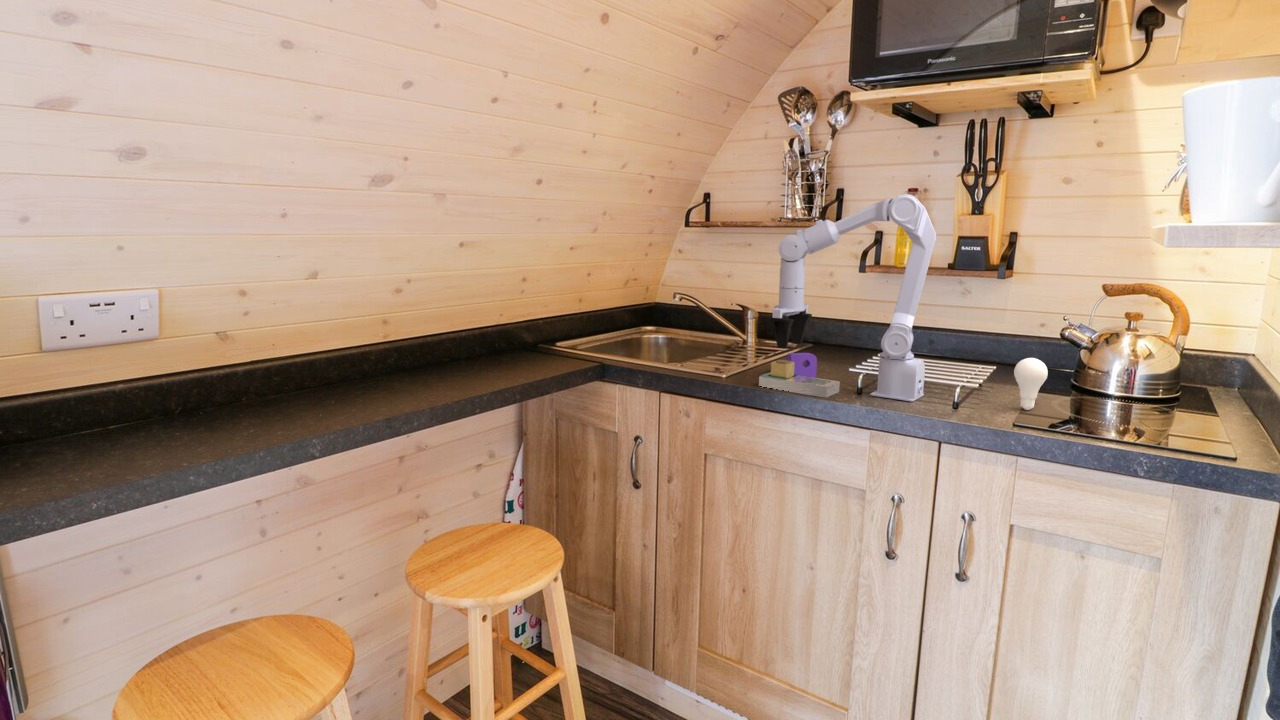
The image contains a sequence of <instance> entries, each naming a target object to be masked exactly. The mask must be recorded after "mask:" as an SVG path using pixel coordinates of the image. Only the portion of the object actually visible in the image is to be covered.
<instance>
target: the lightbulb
mask: <svg viewBox="0 0 1280 720" xmlns="http://www.w3.org/2000/svg"><path fill="white" fill-rule="evenodd" d="M1048 374H1049V371H1048V367H1047V366H1046V364H1045V363H1044V362H1043V361H1042V360H1040V359H1038V358H1035V357H1026V358H1024V359H1021V360H1020V361H1018V362H1017V363H1016V365H1015V367H1014V369H1013V375H1014V378H1015V381H1016V382H1017V385H1018V389H1019V397H1020V403H1019V404H1020V407H1021V408H1023V410H1025V411H1030V410H1031V409H1033V408H1035V402H1036V399H1037V398H1038V393H1039V391H1040V388H1041V386H1043V384H1044V383H1045V381H1047V379H1048Z"/></svg>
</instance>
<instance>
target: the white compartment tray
mask: <svg viewBox="0 0 1280 720" xmlns="http://www.w3.org/2000/svg"><path fill="white" fill-rule="evenodd" d="M840 382H841V381H838V380H832V379H824V378H819V377H816V378H813V377H806V376H799V375H798V374H794V377H792V378H790V379H784V378H777V377H771V371H770V372H766V373H763V374H761V375H760V376H759V377H758V387H759V386H762V387H761V388H763V387H767V388H766V389H769V388H773V389H772V390H776V389H778V390H777V391H782V390H784V392H788V391H789V393H794V394H795V393H796V394H801V395H808V396H814V397H819V398H826V399H827V398H829V397H830V396H833V395H836V394H838V393H839V392H840V384H841V383H840Z"/></svg>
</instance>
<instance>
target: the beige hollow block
mask: <svg viewBox="0 0 1280 720" xmlns="http://www.w3.org/2000/svg"><path fill="white" fill-rule="evenodd" d="M794 363H795V362H790V361H787V360H785V359H778V360H774V361H772V362H771V363H770V372H771V377H777V378H784V379H790V378H792V377H794Z"/></svg>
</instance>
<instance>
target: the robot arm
mask: <svg viewBox="0 0 1280 720" xmlns="http://www.w3.org/2000/svg"><path fill="white" fill-rule="evenodd" d="M890 221H893V222H894V223H895V224H896V225H897V226H899V227H900V228H902V229H903V230H904V232H905V233H906V235H907V236H908V238H909V239H910V240H911V247H910V250H909V255H908V258H907V261H906V266H905V269H904V274H903V277H902V281H901V284H900V288H899V292H898V295H897V296H898V297H897V300H896V303H895V308H894V311H893V315H892V319H891V321H890V325H889V327H888V328H887V329H886V331H885V332H884V334H883V336H882V338H881V341H880V346H881V350H882V352H880V353H879V357H878V373H877V389H876V390H875V391H873V392H871V393H870V396H873V397H878V398H886V399H893V400H899V401H904V402H911V403H913V402H915V401H917V400H918V399H920V398H922V397H923V396H925V394H924V387H925V386H924V385H925V373H926V365H925V361H924V360H923V359H917V358H915V354H914V353H913V352H912V351H911V350H912V346H913V343H914V334H913V326H914V321H915V318H916V315H917V310H918V306H919V303H920V299H921V295H922V293H923V288H924V286H925V281H926V277H927V274H928V270H929V266H930V263H931V259H932V255H933V252H934V247H935V244H936V240H937V233H936V230H935V228H934V225H933V223H932V221H931V218H930V216H929V214H928V211H927V209H926V206H924V205H923V204H922V203H921V202H920V201H919V199H917V197H915V196H914V195H912V194H908V193H904V194H899V195H896V196H895V197H894V198H887V199H883V200H880V201H878V202H877V201H876V202H875V203H872V204H870V205H868V206H866V207H864V208H862V209H860V210H858V211H856V212H854V213H852V214H850V215H848V216H845V217H843V218H842V219H840V220H837V221H835V222H834V221H832V220H830V219H825V220H822V219H819V220H816V221H815V224H814V225H812V226H810V227H807V228H805V229H803V230H802V229H798V230H796V231H795V232H796V235H794V234H789V235H786V237H784V238H782V239H781V241H780V242H779V244H778V255H779V256H780V257H781V258H780V268H779V284H778V285H779V286H778V287H779V288H778V291H779V292H778V305H774V306H773V309H772V315H771V316H769V317H768V322H769V323H770V326H771V327H772V330H773V332H774V337H775V341H776V345H777V348H778V349H779V348H780V349H788V345H789V341H790V340H789V339H790V335H791V343H792V344H795V345H801V344H803V340H804V337H805V336H804V335H805V333H806V329H807V327H808V325H809V323H810V321H811V319H812V318H813V317H812V316H813V314H812V313H808V312H809V303H807V304H806V303H805V286H806V285H805V284H806V283H805V282H806V281H805V280H806V266H805V265H806V256H807V254H808V255H812V254H815V253H817V252H819V251H822V250H824V249H827V248H828V247H831V246H833V245H836V244H838V241H839V239H840V236H841V235H843V234H846V233H848V232H851V231H854V230H855V229H856V230H857V229H858V228H861V227H863V226H866V225H868V224H871V223H873V222H890Z"/></svg>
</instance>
